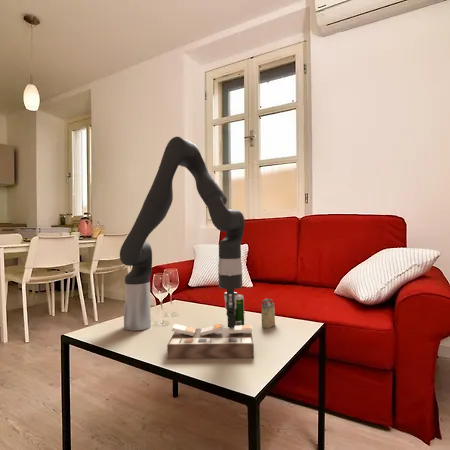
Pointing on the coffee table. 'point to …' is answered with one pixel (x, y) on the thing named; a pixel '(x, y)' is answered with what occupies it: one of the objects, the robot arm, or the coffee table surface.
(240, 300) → the beer can
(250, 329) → the rocker right
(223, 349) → the switch console
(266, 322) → the lighter
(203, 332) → the rocker middle
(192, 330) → the rocker left
